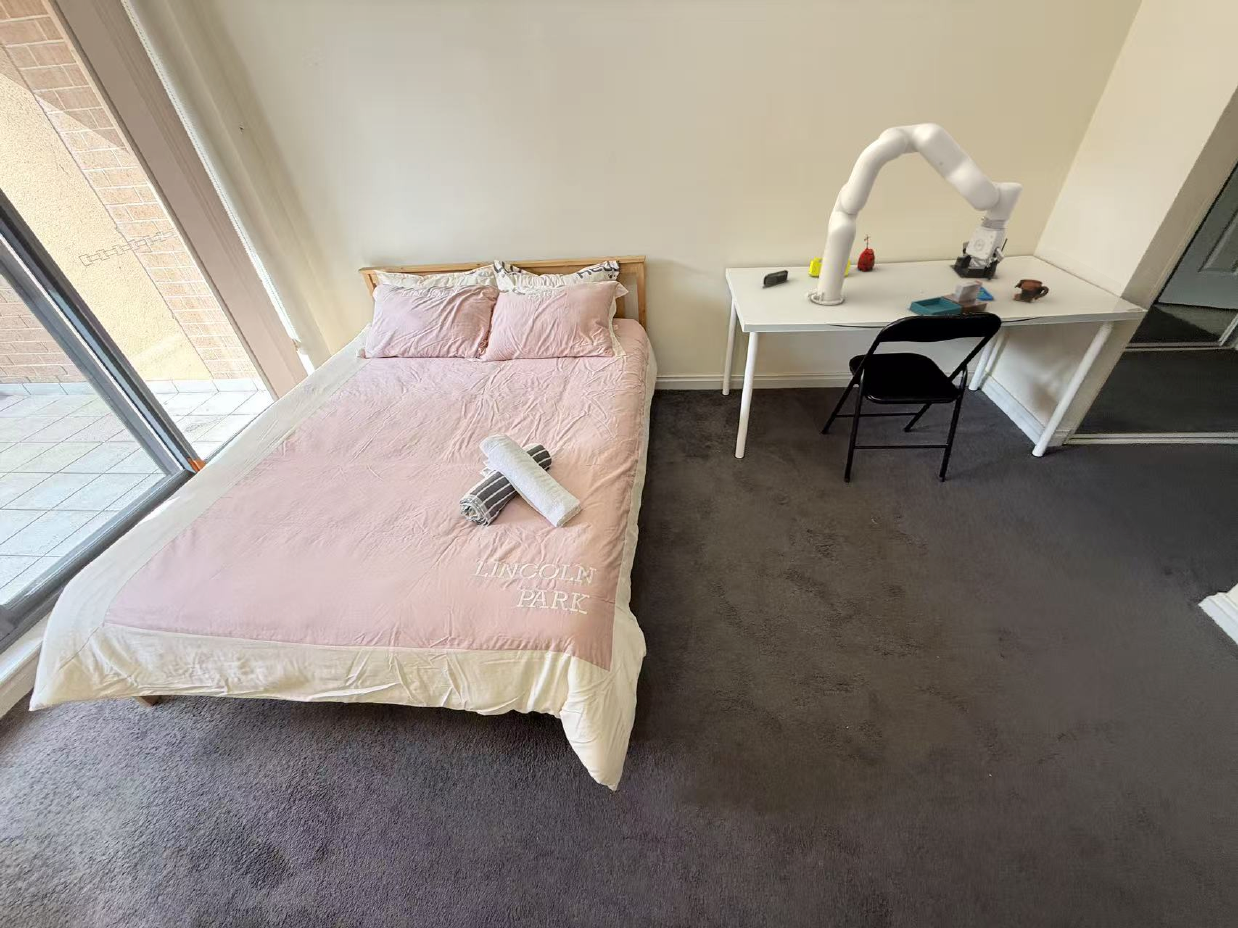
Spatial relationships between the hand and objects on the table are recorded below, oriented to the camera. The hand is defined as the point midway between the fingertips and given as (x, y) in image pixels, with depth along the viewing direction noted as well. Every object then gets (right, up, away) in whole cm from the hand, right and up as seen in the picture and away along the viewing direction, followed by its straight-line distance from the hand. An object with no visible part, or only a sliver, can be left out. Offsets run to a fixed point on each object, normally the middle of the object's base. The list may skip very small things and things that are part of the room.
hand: (973, 272), depth 183 cm
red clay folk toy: (-19, +19, +45) cm, 52 cm away
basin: (-11, -13, +6) cm, 18 cm away
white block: (+1, -8, +6) cm, 10 cm away
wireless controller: (+25, +13, +34) cm, 44 cm away
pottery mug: (+29, -6, +11) cm, 31 cm away
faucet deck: (+1, -10, +8) cm, 13 cm away
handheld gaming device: (+13, -2, +18) cm, 22 cm away
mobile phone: (-63, +9, +37) cm, 74 cm away
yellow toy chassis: (-37, +15, +41) cm, 58 cm away
